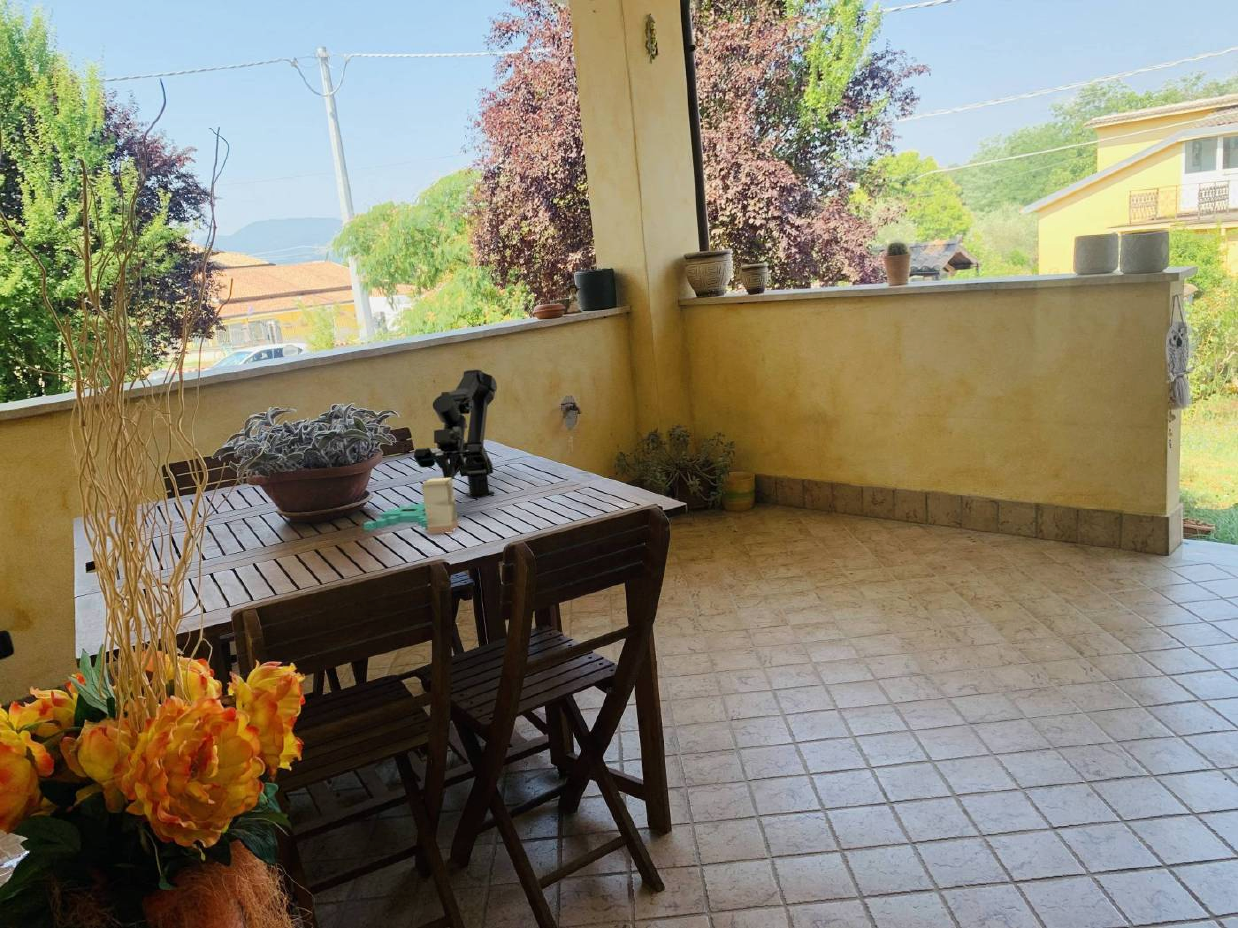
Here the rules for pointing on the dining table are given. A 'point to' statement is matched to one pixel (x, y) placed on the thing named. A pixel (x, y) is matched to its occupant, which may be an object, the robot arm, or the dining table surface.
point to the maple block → (439, 505)
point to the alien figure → (400, 517)
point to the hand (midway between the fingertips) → (447, 483)
